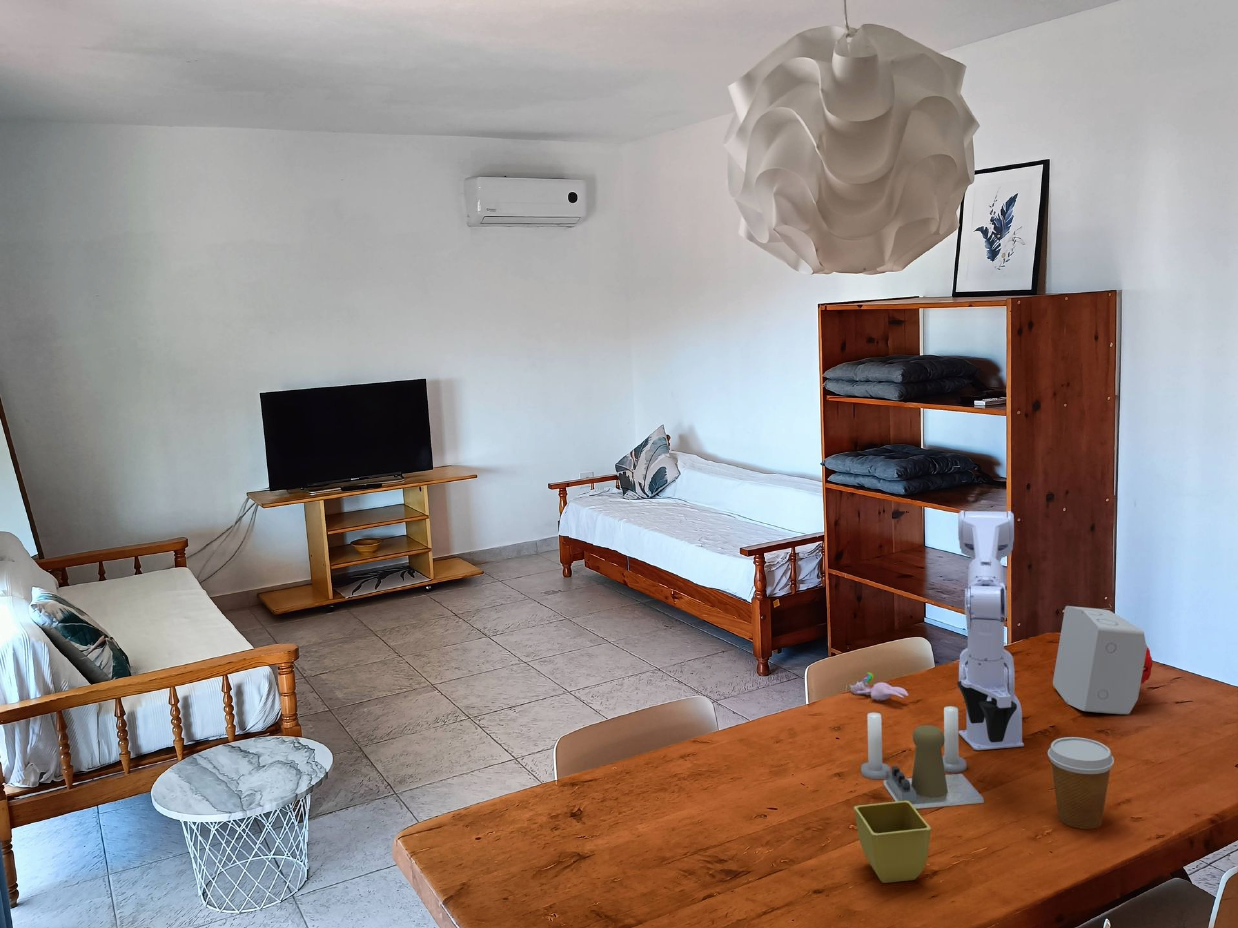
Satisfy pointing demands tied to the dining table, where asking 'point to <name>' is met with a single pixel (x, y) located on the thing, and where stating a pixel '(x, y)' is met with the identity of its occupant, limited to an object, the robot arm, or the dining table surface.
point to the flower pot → (893, 839)
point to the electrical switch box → (1100, 661)
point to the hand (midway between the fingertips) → (986, 731)
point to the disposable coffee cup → (1080, 780)
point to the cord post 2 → (952, 742)
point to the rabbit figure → (875, 689)
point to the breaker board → (956, 795)
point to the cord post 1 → (874, 750)
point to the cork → (929, 762)
